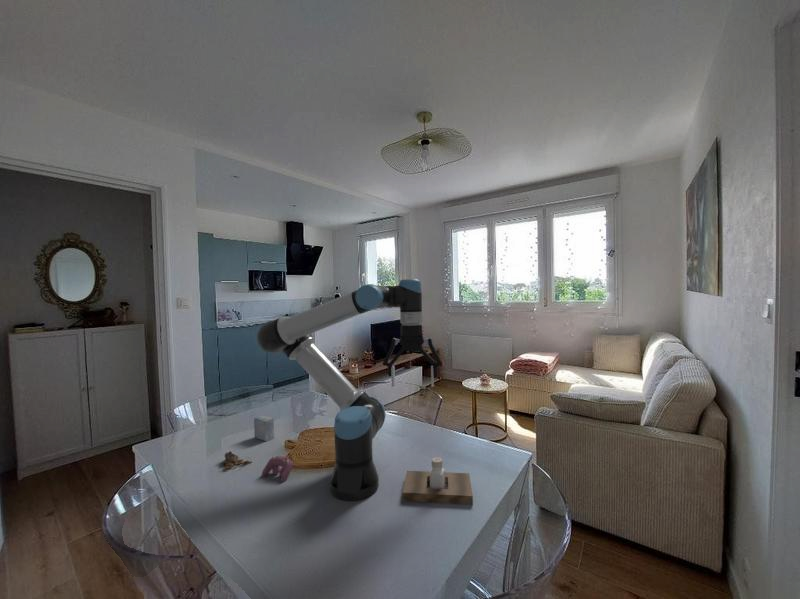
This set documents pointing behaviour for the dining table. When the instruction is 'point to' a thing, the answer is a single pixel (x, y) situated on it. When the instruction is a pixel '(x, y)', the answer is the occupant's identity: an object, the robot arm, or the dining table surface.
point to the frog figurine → (234, 462)
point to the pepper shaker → (437, 474)
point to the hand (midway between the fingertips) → (412, 385)
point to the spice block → (455, 493)
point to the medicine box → (264, 428)
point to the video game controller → (274, 466)
